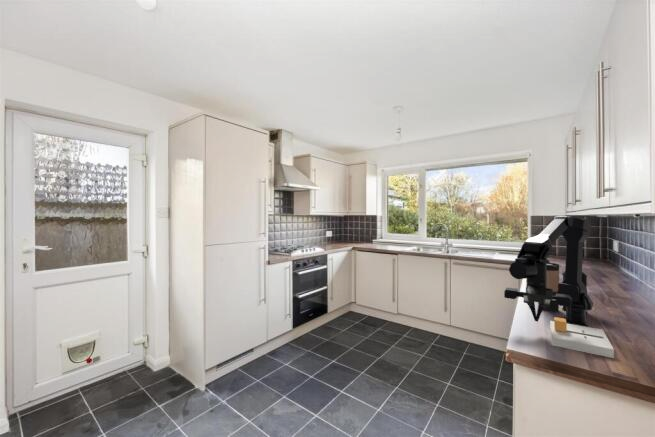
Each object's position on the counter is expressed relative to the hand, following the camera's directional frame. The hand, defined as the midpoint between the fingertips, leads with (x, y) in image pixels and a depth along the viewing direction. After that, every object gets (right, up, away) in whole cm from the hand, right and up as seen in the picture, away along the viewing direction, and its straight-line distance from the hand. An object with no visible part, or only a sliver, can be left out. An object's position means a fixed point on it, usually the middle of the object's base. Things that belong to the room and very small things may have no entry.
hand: (536, 321), depth 99 cm
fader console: (+9, -4, -7) cm, 12 cm away
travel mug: (+24, -4, +26) cm, 35 cm away
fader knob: (+5, -1, -4) cm, 7 cm away
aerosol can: (+33, -4, +23) cm, 40 cm away
